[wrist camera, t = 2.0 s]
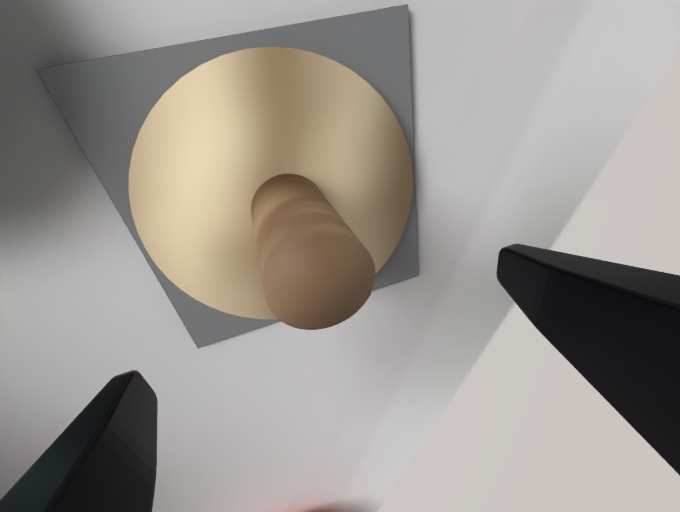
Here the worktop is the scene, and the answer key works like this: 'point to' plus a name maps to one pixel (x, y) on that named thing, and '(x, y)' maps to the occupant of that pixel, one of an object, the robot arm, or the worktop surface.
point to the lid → (272, 186)
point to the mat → (177, 60)
